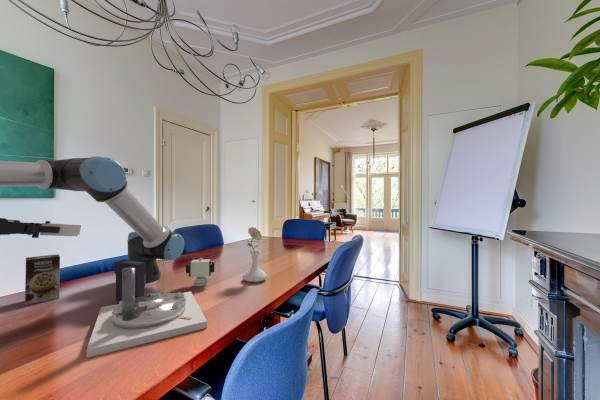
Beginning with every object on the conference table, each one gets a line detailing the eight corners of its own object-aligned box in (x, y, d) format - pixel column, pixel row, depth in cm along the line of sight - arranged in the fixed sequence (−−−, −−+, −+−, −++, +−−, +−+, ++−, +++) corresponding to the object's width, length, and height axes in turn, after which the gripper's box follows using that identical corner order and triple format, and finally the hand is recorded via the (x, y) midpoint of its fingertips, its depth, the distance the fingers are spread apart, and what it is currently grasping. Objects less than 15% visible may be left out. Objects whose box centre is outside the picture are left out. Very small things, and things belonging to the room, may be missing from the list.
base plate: (101, 312, 86) (101, 306, 86) (191, 296, 101) (191, 290, 101) (86, 357, 62) (86, 348, 62) (206, 327, 77) (206, 320, 77)
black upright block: (146, 302, 95) (147, 261, 95) (136, 306, 91) (136, 264, 91) (125, 298, 98) (125, 259, 98) (113, 302, 94) (114, 261, 94)
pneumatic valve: (213, 286, 112) (214, 259, 112) (185, 287, 110) (185, 260, 110) (215, 282, 118) (215, 256, 118) (188, 283, 115) (188, 257, 115)
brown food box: (25, 305, 91) (25, 260, 91) (24, 300, 95) (24, 257, 95) (60, 298, 97) (60, 256, 97) (58, 293, 102) (58, 253, 102)
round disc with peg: (115, 307, 84) (115, 257, 84) (181, 295, 95) (181, 251, 95) (108, 336, 67) (108, 273, 67) (190, 318, 78) (190, 264, 78)
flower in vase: (271, 281, 120) (271, 228, 119) (248, 285, 113) (248, 229, 113) (259, 274, 130) (259, 225, 130) (237, 278, 124) (237, 226, 124)
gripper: (-33, 239, 64) (78, 242, 77) (-86, 245, 45) (74, 248, 58) (-25, 209, 65) (83, 217, 78) (-75, 203, 46) (80, 214, 59)
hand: (79, 230), depth 68 cm, fingers open, 13 cm apart
